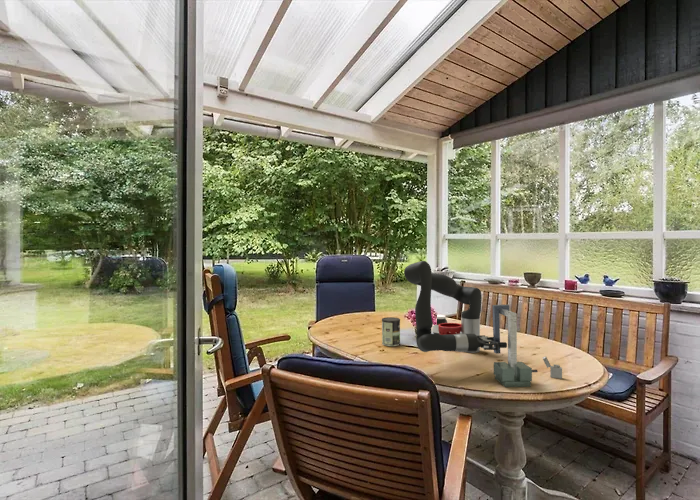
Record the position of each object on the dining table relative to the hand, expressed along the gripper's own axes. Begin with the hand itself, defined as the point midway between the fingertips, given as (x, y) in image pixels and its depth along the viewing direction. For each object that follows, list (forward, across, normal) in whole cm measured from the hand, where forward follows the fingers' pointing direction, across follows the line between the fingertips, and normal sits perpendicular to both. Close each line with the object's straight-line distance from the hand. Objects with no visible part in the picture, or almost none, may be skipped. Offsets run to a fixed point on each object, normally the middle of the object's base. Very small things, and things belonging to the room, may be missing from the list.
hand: (501, 342), depth 152 cm
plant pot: (-9, +42, +14) cm, 45 cm away
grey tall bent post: (+2, -5, +13) cm, 15 cm away
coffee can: (-41, +48, +14) cm, 65 cm away
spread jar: (-7, +67, +14) cm, 69 cm away
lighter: (+19, -4, +14) cm, 24 cm away
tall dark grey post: (0, 0, +4) cm, 5 cm away
